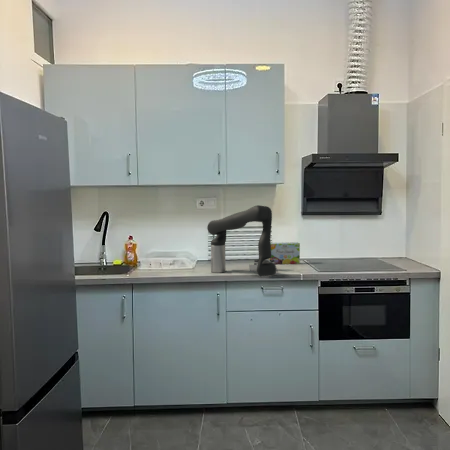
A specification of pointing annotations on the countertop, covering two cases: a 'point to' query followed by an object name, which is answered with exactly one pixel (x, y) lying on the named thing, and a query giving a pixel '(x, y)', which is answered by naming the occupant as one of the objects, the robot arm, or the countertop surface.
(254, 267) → the charcoal mat
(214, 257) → the robot arm
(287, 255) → the snack box
